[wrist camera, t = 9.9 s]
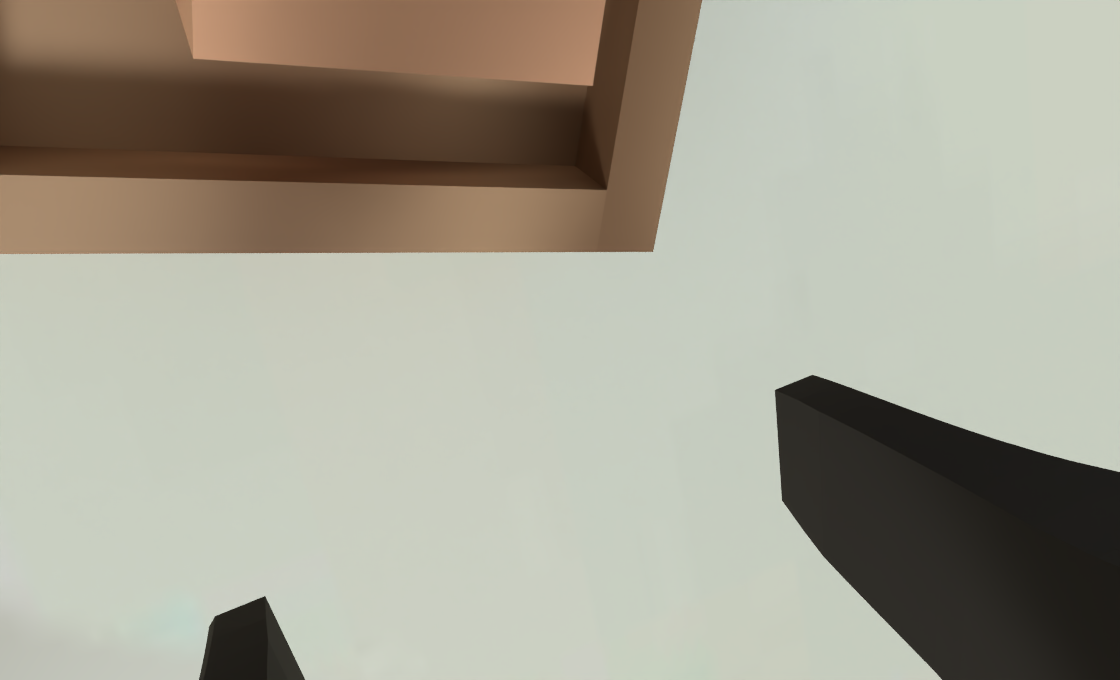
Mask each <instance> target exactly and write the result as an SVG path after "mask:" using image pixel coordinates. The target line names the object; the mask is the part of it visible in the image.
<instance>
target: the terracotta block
mask: <svg viewBox="0 0 1120 680" xmlns="http://www.w3.org/2000/svg"><path fill="white" fill-rule="evenodd" d="M605 1H606V0H176V4H177V7H178V10H179V13H180V17H181V20H182V23H183V27H184V30H185V33H186V36H187V40H188V43H189V46H190V50H191V53H192V56H193V59H205V60H220V61H234V62H249V63H264V64H278V65H293V66H308V67H322V68H337V69H352V70H366V71H381V72H396V73H410V74H425V75H440V76H454V77H469V78H484V79H499V80H513V81H528V82H543V83H557V84H572V85H587V86H593V81H594V74H595V67H596V61H597V54H598V48H599V41H600V34H601V28H602V21H603V15H604V8H605Z"/></svg>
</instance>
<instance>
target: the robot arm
mask: <svg viewBox="0 0 1120 680" xmlns="http://www.w3.org/2000/svg"><path fill="white" fill-rule="evenodd" d="M775 397H776V413H777V428H778V443H779V459H780V474H781V490H782V501H783V502H784V504H785V505H786V506H787V508H788V509H789V511H790V512H791V513H792V515H793V516H794V518H795V519H796V520H797V522H798V523H799V525H800V526H801V527H802V529H803V530H804V532H805V533H806V534H807V535H808V537H809V538H810V539H811V541H812V542H813V543H814V545H815V546H816V547H817V548H818V550H819V551H820V552H821V554H822V555H823V556H824V557H825V558H826V560H827V561H828V562H829V563H830V564H831V565H832V566H833V567H834V568H835V569H836V570H837V571H838V572H839V573H840V574H841V575H842V576H843V578H844V579H845V580H846V581H847V582H848V583H849V584H850V585H851V586H852V587H853V588H854V589H855V590H856V591H857V592H858V593H859V594H860V595H861V596H862V597H863V598H864V599H865V600H866V601H867V602H868V603H869V604H870V605H871V607H872V608H873V609H874V610H875V611H876V612H877V613H878V614H879V615H880V616H881V617H882V618H883V619H884V620H885V621H886V622H887V623H888V624H889V625H890V626H891V627H892V628H893V629H894V630H895V631H896V632H897V633H898V634H899V635H900V636H901V637H902V638H903V639H904V640H905V641H906V642H907V643H908V644H909V645H910V646H911V647H912V648H913V649H914V650H915V652H916V653H917V654H918V655H919V656H920V657H921V658H922V659H923V660H924V661H925V662H926V663H927V664H928V665H929V666H930V667H931V668H932V669H933V670H934V671H935V672H936V673H937V674H938V675H939V677H940V678H941V679H942V680H1120V472H1116V471H1112V470H1108V469H1103V468H1099V467H1095V466H1090V465H1086V464H1082V463H1077V462H1073V461H1069V460H1066V459H1062V458H1058V457H1054V456H1050V455H1047V454H1043V453H1040V452H1036V451H1033V450H1030V449H1026V448H1023V447H1020V446H1016V445H1013V444H1009V443H1006V442H1003V441H999V440H996V439H993V438H990V437H987V436H984V435H981V434H978V433H975V432H971V431H968V430H966V429H963V428H960V427H957V426H954V425H951V424H948V423H945V422H942V421H940V420H937V419H934V418H931V417H928V416H925V415H923V414H920V413H917V412H914V411H912V410H909V409H906V408H903V407H901V406H898V405H895V404H893V403H890V402H887V401H885V400H882V399H879V398H877V397H874V396H871V395H868V394H866V393H863V392H860V391H858V390H855V389H852V388H849V387H847V386H844V385H841V384H838V383H835V382H833V381H830V380H827V379H824V378H820V377H817V376H814V375H811V376H809V377H806V378H804V379H801V380H799V381H796V382H794V383H791V384H789V385H786V386H784V387H781V388H779V389H776V390H775ZM199 680H305V679H304V677H303V674H302V672H301V670H300V668H299V666H298V664H297V662H296V660H295V658H294V656H293V654H292V651H291V649H290V647H289V645H288V643H287V641H286V639H285V637H284V635H283V633H282V631H281V628H280V626H279V624H278V622H277V620H276V618H275V616H274V614H273V612H272V610H271V608H270V605H269V603H268V601H267V599H266V597H265V596H264V597H262V598H259V599H257V600H254V601H252V602H250V603H247V604H245V605H242V606H240V607H237V608H235V609H232V610H230V611H227V612H225V613H222V614H220V615H217V616H215V618H214V619H213V621H212V623H211V625H210V626H209V632H208V638H207V644H206V649H205V654H204V659H203V664H202V669H201V673H200V678H199Z"/></svg>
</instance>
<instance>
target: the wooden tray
mask: <svg viewBox="0 0 1120 680" xmlns="http://www.w3.org/2000/svg"><path fill="white" fill-rule="evenodd" d="M701 3H702V0H606V1H605V8H604V15H603V21H602V28H601V34H600V41H599V48H598V54H597V61H596V67H595V74H594V81H593V86H587V85H572V84H557V83H543V82H528V81H513V80H499V79H484V78H469V77H454V76H440V75H425V74H410V73H396V72H381V71H366V70H352V69H337V68H322V67H308V66H293V65H278V64H264V63H249V62H234V61H220V60H205V59H193V56H192V53H191V50H190V46H189V43H188V40H187V36H186V33H185V30H184V27H183V23H182V20H181V17H180V13H179V10H178V7H177V4H176V0H0V254H89V253H396V252H653V249H654V244H655V239H656V233H657V228H658V223H659V218H660V213H661V208H662V203H663V198H664V192H665V187H666V182H667V177H668V172H669V167H670V162H671V157H672V152H673V146H674V141H675V136H676V131H677V126H678V121H679V116H680V111H681V105H682V100H683V95H684V90H685V85H686V80H687V75H688V70H689V65H690V59H691V54H692V49H693V44H694V39H695V34H696V29H697V24H698V18H699V13H700V8H701Z"/></svg>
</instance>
